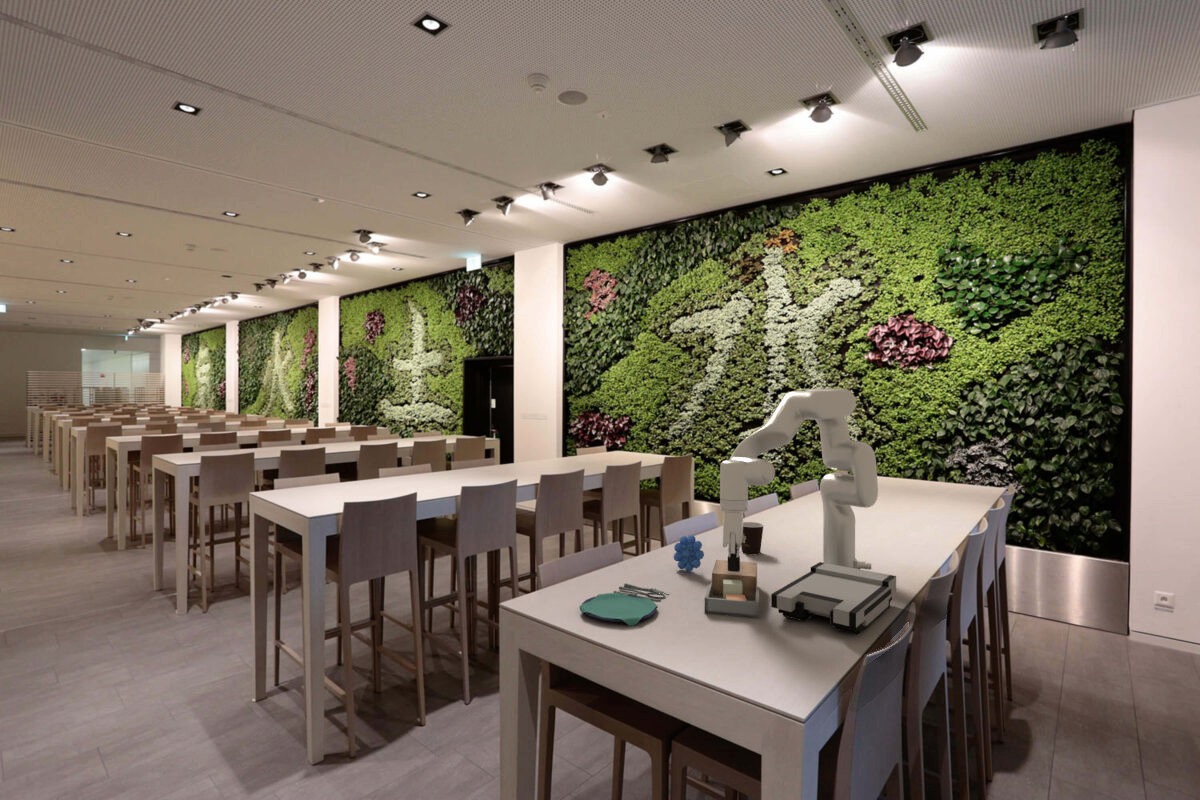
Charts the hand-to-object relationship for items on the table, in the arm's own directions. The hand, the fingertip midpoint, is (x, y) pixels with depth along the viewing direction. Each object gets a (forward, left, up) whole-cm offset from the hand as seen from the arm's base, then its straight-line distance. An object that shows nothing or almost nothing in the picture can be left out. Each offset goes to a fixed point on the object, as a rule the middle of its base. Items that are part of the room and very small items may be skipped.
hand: (733, 570), depth 169 cm
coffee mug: (-3, -53, -8) cm, 54 cm away
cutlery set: (+27, +13, -9) cm, 31 cm away
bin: (0, +7, -8) cm, 11 cm away
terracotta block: (-1, +8, -5) cm, 10 cm away
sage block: (0, +1, -5) cm, 5 cm away
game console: (-26, +3, -9) cm, 28 cm away
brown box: (0, -6, -8) cm, 10 cm away
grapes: (+15, -23, -8) cm, 29 cm away
